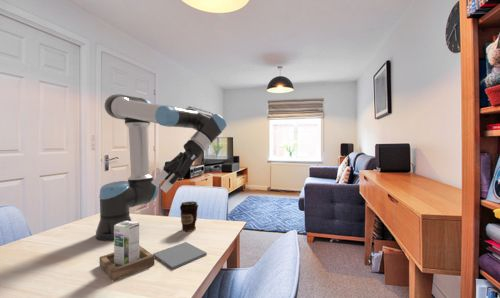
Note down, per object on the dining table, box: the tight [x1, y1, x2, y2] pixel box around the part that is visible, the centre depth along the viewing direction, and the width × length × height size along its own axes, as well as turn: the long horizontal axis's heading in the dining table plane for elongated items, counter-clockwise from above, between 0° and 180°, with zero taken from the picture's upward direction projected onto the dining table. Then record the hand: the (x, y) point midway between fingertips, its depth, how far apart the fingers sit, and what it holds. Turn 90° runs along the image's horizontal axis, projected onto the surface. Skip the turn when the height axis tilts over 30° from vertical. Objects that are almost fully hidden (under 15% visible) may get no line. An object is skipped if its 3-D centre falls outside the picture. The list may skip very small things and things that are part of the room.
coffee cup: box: [179, 200, 199, 232], centre depth 114 cm, size 9×8×13 cm
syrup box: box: [113, 220, 140, 267], centre depth 81 cm, size 6×6×14 cm
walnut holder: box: [99, 244, 155, 281], centre depth 81 cm, size 13×13×3 cm
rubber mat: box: [152, 241, 208, 270], centre depth 88 cm, size 14×14×1 cm
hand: (158, 187), depth 86 cm, fingers open, 13 cm apart
